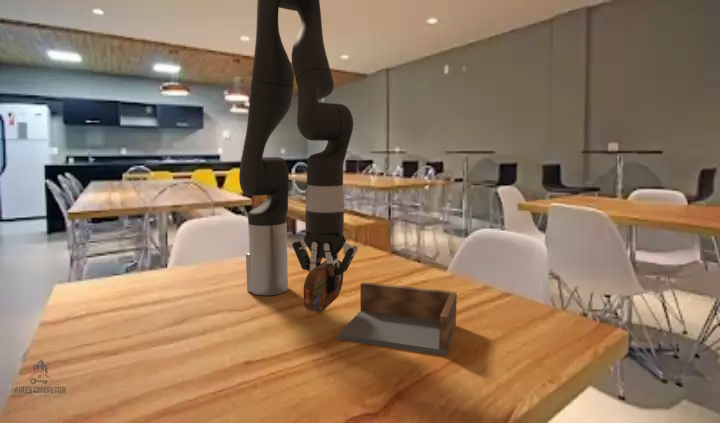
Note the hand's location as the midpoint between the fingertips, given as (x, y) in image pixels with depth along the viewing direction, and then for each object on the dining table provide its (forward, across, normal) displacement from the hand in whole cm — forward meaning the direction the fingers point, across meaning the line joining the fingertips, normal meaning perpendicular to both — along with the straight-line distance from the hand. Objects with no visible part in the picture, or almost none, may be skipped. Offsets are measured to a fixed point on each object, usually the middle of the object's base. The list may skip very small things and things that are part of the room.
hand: (324, 291), depth 90 cm
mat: (+6, +16, +1) cm, 17 cm away
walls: (+6, +16, +1) cm, 17 cm away
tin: (+3, 0, 0) cm, 3 cm away
